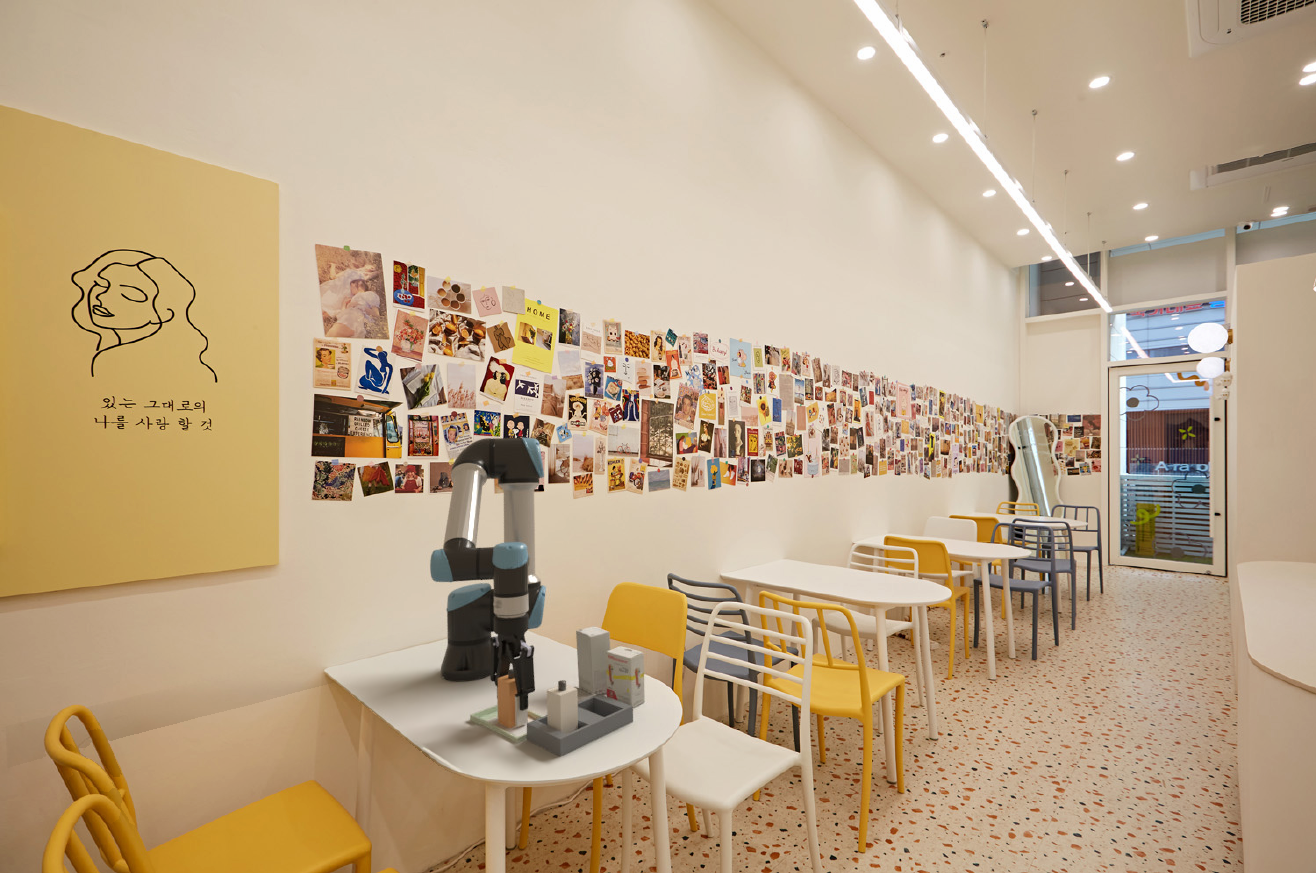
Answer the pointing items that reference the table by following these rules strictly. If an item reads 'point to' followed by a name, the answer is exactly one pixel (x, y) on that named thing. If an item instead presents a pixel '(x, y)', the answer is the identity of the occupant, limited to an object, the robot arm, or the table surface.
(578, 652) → the skincare box
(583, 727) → the grey two-slot holder
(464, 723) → the table surface
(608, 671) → the ink box
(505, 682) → the orange knobbed block
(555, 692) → the white knobbed peg block
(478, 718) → the tray
